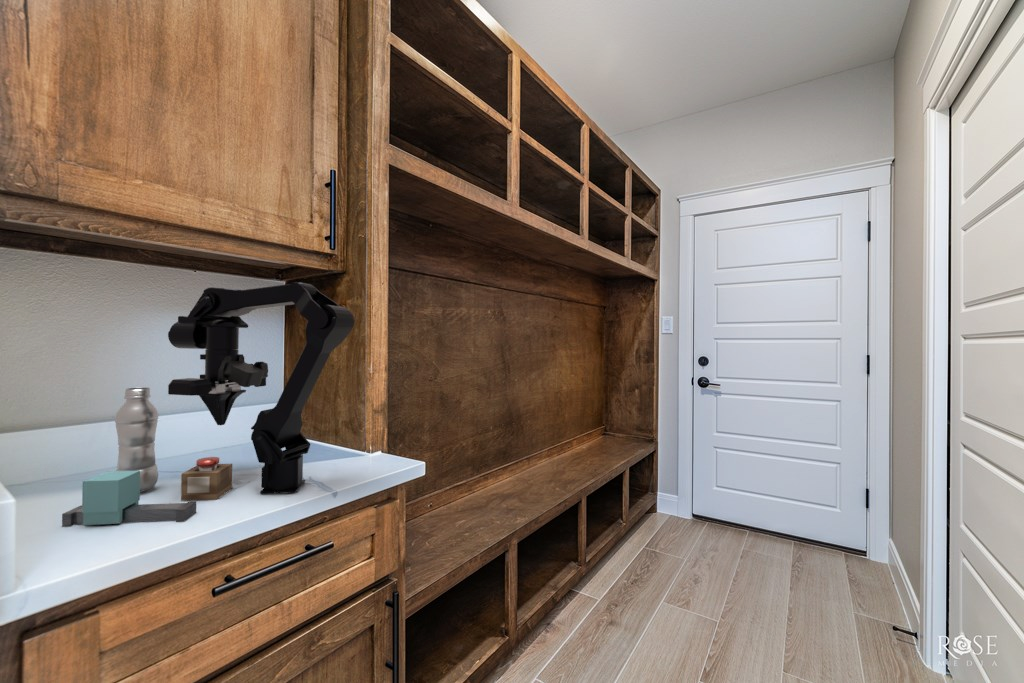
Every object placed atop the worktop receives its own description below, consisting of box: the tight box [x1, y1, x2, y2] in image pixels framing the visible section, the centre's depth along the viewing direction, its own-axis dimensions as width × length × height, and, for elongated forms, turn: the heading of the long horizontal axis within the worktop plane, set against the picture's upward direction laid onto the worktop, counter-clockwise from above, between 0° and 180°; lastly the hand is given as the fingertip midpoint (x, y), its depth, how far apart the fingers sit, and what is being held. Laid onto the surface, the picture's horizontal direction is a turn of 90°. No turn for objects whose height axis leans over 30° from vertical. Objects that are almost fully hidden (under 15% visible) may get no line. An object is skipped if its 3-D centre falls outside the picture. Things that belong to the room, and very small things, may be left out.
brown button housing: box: [180, 463, 233, 502], centre depth 84 cm, size 6×6×5 cm
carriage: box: [81, 470, 141, 526], centre depth 72 cm, size 5×5×7 cm
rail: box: [61, 500, 197, 528], centre depth 72 cm, size 17×4×2 cm, turn 99°
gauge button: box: [195, 456, 220, 471], centre depth 84 cm, size 4×4×6 cm
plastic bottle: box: [114, 386, 159, 493], centre depth 85 cm, size 6×7×20 cm
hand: (221, 424), depth 90 cm, fingers closed
